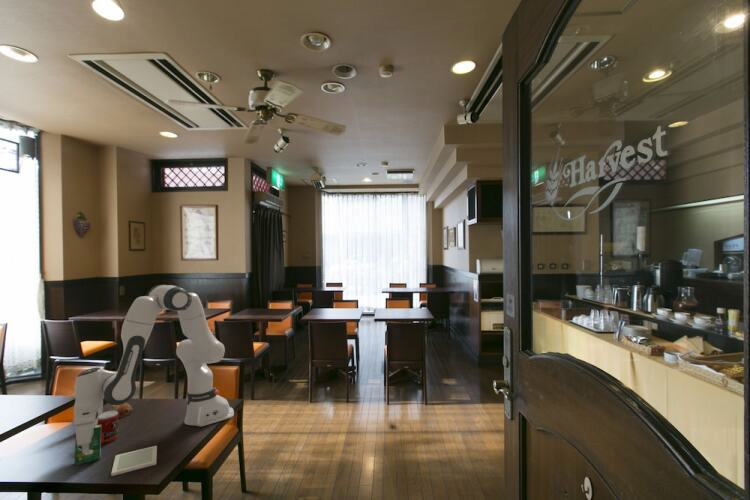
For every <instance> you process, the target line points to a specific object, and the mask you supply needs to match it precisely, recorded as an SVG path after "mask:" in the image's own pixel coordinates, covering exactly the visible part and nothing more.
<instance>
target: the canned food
mask: <svg viewBox="0 0 750 500" xmlns="http://www.w3.org/2000/svg"><path fill="white" fill-rule="evenodd" d="M97 425H102V427H101V445H102V444H108V443H112V442H113V441H115V440H116V439H118V435H119V418H118V412H117V411H108V410H107V411H103V413H102V414H101V415H99V418H98V424H97Z"/></svg>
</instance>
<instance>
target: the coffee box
mask: <svg viewBox="0 0 750 500" xmlns="http://www.w3.org/2000/svg"><path fill="white" fill-rule="evenodd" d="M101 427H102V425H96V426H94V433H93V436H92V439H91V441H90V443H89V451H88V453H84V454H83V453H82V446H78V445H77V440H76V439H75V442H74V443H75V445H74V447H75V449H74V466H78V465H79V466H80V465H83V464H86V463H91V462H95V461H99V460H101V454H102V453H101V449H102V448H101V446H102V444H101Z"/></svg>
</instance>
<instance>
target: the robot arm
mask: <svg viewBox="0 0 750 500" xmlns="http://www.w3.org/2000/svg"><path fill="white" fill-rule="evenodd" d="M163 310H165V311H167V310H168V311H173V312H177V315H178V319H179V322H180V323H179V324H180V327H181V330H182V331H181V332H182V334H183V335H184V336H185V337H186V338H187V339H184V340H181V341H180V342H179V343H178V345H177V346H176V350H175V354H176V356H177V358H179V360H180V361H181V362H182V364H183V366H184V368H185V369H184V370H185V371H186V374H187V375H186V377H187V392H186V405H187V406H186V412H185V413H186V414H185V418H184V420H183V423H184V424H185V425H188V426H196V427H204V426H207V425H208V426H209V425H211V424H214V423H218V422H221V421H224V420H228V419H230V418H233V417H234V415H235V411H234V409H233V407H231V406H230V404H229V402H228V400H227V399H226V398H225V397H222V396H221V395H219V394H220V391H219V390H218V389H217V388H216V387H215V386H214V385H213V383H214V379H213V378H214V374H213V370H211V368H209V367H208V365H207V364H214V363H219V362H220V361H221V360H222V359H223V358H224V356H225V352H226V350H225V349H226V348H225V345H224V343H222V342H221V341H219V340H218V339H217V338H216V336H215V335H214V334H213V332H212V331H211V329H210V327H209V324H208V321H207V319H206V318H207V317H206V314H205V310H204V306H203V304H202V301H201V299H200V297H199V295H198V294H197V293H195V292H188V291H187V290H186V289H185V288H182V287H180V286H176V285H172V284H169V285H167V284H158V285H155V286H153V287H152V288H151V289H149V291H148V292H147V293H146V294H145V295H144V296H143V295H142V296H138V297H136V298H135V300H134V301H133V302H132V304H131V305H130V307H129V309H128V310H127V313H126V315H125V317H124V321H123V323H122V326H121V331H120V333H121V334H120V338H121V341H122V346H123V352H122V357H121V359H120V363H119V366H118V369H117V371H112V370H107V369H103V368H101V367H92V368H88V369H85V370H83V371H81V372H80V373H78V375H77V376H76V378H75V382H74V392H73V393H74V395H73V396H74V398H75V401H74V404H73V426H75V441H76V440H77V445H78V446H82V453H83V454H84V453H88V451H89V443H90V441H91V439H92V436H93V433H94V426H96V425H97V424H98V418H99V415H101V414H102V413H104V411H103V410H104V400H105V402H106V403H107V404H109V405H111V406H113V405H121V404H124V403H128V402H129V401H130V400H131V399H132V398H133V397H134V396H135V394H136V392H137V386H136V385H137V384H136V376H137V371H138V368H139V365H140V361H141V359H142V355H143V353H144V352H143V351H144V350H145V347H146V345H147V342H148V340H149V338H150V336H151V334H152V331H153V329H154V326H155V323H156V319H157V317H158V315H159V313H160V312H161V311H163ZM213 386H214V387H213Z"/></svg>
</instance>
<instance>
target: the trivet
mask: <svg viewBox="0 0 750 500" xmlns="http://www.w3.org/2000/svg"><path fill="white" fill-rule="evenodd" d="M157 451H158V446H157V445H153V446H148V447H145V448H140V449H136V450H133V451H128V452H124V453H120V454H116V455H115V457H114V460H113V465H112V469H111V472H110V476H111V477H114V476H117V475H122V474H125V473H129V472H132V471H136V470H140V469H144V468H148V467H152V466H156V465H157V459H158V458H157V456H158V454H157V453H158V452H157Z"/></svg>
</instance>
